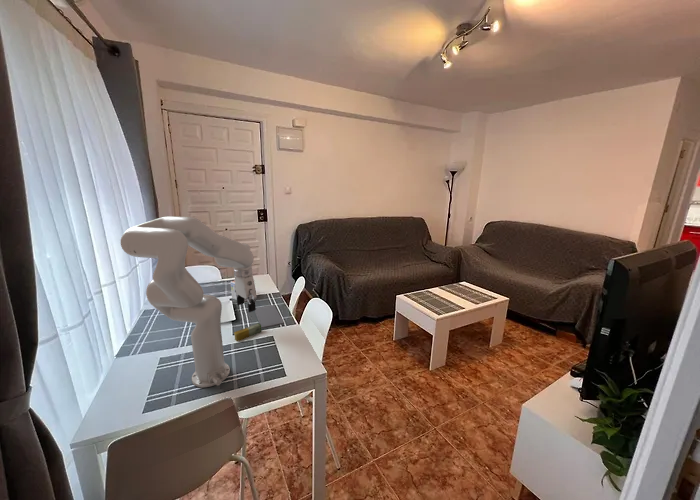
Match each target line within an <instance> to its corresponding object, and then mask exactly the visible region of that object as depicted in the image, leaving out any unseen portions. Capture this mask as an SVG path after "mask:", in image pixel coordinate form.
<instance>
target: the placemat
mask: <svg viewBox="0 0 700 500" xmlns="http://www.w3.org/2000/svg"><path fill="white" fill-rule="evenodd" d="M254 314H255V315H256V318H257V321H258V323H259V324H261V329H264V328H271V327H273V326H279V324H280V325H283V324H284V320H283V319H282V317H281V315H280V312H279V311H278V309H277V307H276V306H275V304H271V305H266V306H265V305H264V306H260V307H256V310H255V311H254Z"/></svg>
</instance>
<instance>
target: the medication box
mask: <svg viewBox="0 0 700 500" xmlns="http://www.w3.org/2000/svg"><path fill="white" fill-rule="evenodd" d="M262 331H263V330H262V328H261V324H259V322H258V323H256V324H252V325H249V326H247V327H243V328H242V329H239V330H236V331H234V332H233V334H234V341H236V342H237V343H238V342H240V341H243V340H246V339H248V338H250V337H253V336H256V335H258V334H261V333H262Z"/></svg>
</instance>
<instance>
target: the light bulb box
mask: <svg viewBox="0 0 700 500" xmlns="http://www.w3.org/2000/svg"><path fill="white" fill-rule="evenodd" d="M234 285H235V280H231V281H230V290H231V291H230V293H231V298H232V299H233V300H236V301H237V297H236V292H235V288H234ZM250 296H251V295H250ZM250 296H248V297H250ZM251 299H252V298H250V300H251ZM245 302H248V301H247V299H245V298H244V303H245Z"/></svg>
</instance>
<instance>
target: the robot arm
mask: <svg viewBox="0 0 700 500" xmlns="http://www.w3.org/2000/svg"><path fill="white" fill-rule="evenodd" d="M120 246H121V249H122V250H123V251H124V253H125V254H126V255H129V256H132V257H136V258H145V259H146V258H148V259H157V262H156V265H155V269H154V270H153V271H154V272H153V275H152V280H151V281H150V282H149V283H148V285H147V287H146V291H145V294H146V298H147V302H149V304H150V305H151V306H153V307H154V308H155V309H156V310H157V311H159V312H160V313H161V314H163V316H165V317H166V318H168V319H170V320H172V321H177V322H184V323H193V324H195V326H194V328H193V329H192V331H191V333H190V342H191V346H192V355H193V360H194V361H193V362H194V369H195V371H194V372H193V374H192V375H191V383H192V384H193V385H194V386H195V387H197V388H211V387H213V386H221V384H222V382H223V381H225V380H226V379H227V378H228V376H229V375H230V372H231V368H230V365H229V364H228V363H226V362H225V356H224V354H225V353H224V345H223V337H222V325H221V322H222V321H221V318H222V308H223V307H222V306H223V305H222V302H221V300H220V298H218V297H217V296H214V295H209V294H204V289H203V287H202V286H201V284H200V283H199V281H197V280H196V279H195V278H194V277H193V276H192V274H191V273H190V272H189V271H188V269H187V268H186V257H187V253H188V249H189V248H188V247H191V248H192V249H193V250H196V251H198V253H201V254H203V256H207V257H211V258H214V261H215V263H216V264H217V265H218V266H219V267H223V268H232V269H233V276H234V281H235V285H234V288H235V292H236V297H237V300H236V304H237V306H241V305H243V304H245V302H244V298H245V299H247V301H246V302H247V309H248V310H247V311H248V313H252V312H255V310H256V308H257V307H256V301H257V291H256V284H255V279H254V275H253V264H254V254H253V252H252V250H251V246H250V244H248V243H244V242H243V243H241V242H239V241H237V240H235V239H231V238H229V237H227V236H223V235H220V234H219V233H217V232H216V231H214V230H213V229H212V228H211V227H210V226H208V225H207V224H205V223H204V222H203V221H201V220H200V219H198V218H197V217H192V216H179V215H178V216H172V215H168V216H167V215H166V216H163V217H159V218H155V219H152V220H149V221H146V222H143V223H140V224H137V225H134V226H131V227H129V228H127V229H126V230H125V231H124V233H123V234H122V235H121V238H120ZM250 295H251V296H250ZM248 296H250V297H248ZM250 298H252V299H250Z"/></svg>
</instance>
